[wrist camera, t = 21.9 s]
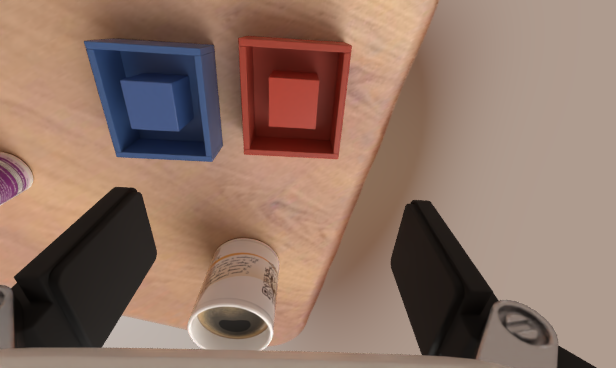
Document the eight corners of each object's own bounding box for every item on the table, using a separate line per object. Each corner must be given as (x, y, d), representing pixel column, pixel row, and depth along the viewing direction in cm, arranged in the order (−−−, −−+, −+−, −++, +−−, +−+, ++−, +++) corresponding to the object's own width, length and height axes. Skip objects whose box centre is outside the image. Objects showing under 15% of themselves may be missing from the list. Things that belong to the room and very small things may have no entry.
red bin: (247, 35, 28) (238, 37, 24) (345, 42, 29) (352, 45, 25) (251, 139, 34) (244, 154, 30) (334, 143, 34) (338, 159, 30)
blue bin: (113, 38, 28) (83, 40, 24) (214, 44, 29) (199, 48, 25) (138, 141, 33) (116, 157, 30) (222, 145, 34) (212, 161, 30)
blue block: (143, 72, 29) (119, 79, 25) (188, 75, 30) (171, 83, 26) (152, 116, 32) (131, 129, 28) (194, 118, 32) (179, 131, 28)
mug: (290, 245, 41) (287, 313, 32) (275, 300, 47) (267, 372, 37) (216, 231, 40) (188, 298, 30) (209, 290, 46) (184, 362, 36)
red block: (273, 69, 29) (268, 77, 26) (317, 72, 30) (319, 80, 26) (272, 113, 32) (268, 126, 28) (314, 116, 32) (315, 129, 28)
